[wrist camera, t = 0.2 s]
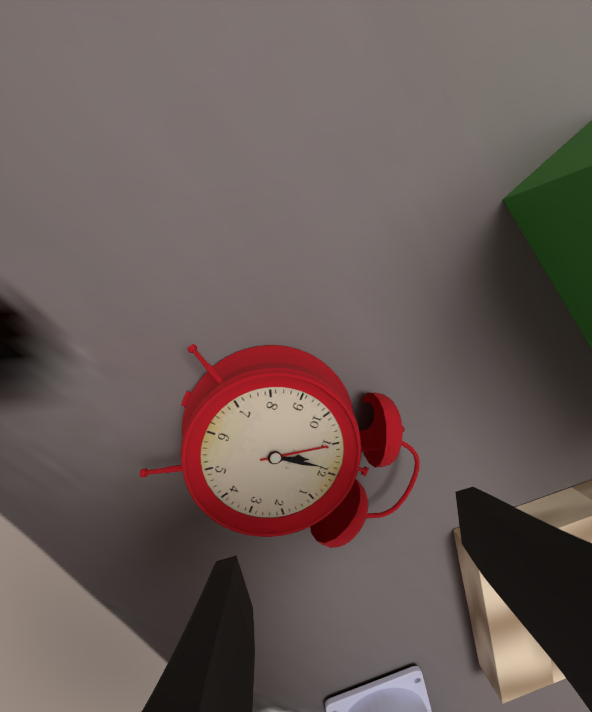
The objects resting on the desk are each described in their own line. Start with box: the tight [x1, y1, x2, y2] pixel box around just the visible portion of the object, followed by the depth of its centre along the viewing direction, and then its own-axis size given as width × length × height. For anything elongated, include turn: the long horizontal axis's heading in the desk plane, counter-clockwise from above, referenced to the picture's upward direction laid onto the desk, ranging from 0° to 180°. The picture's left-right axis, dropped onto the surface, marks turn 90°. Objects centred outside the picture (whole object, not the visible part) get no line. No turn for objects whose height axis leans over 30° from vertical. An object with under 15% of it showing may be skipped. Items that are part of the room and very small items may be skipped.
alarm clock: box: [140, 344, 419, 548], centre depth 17 cm, size 10×6×15 cm
